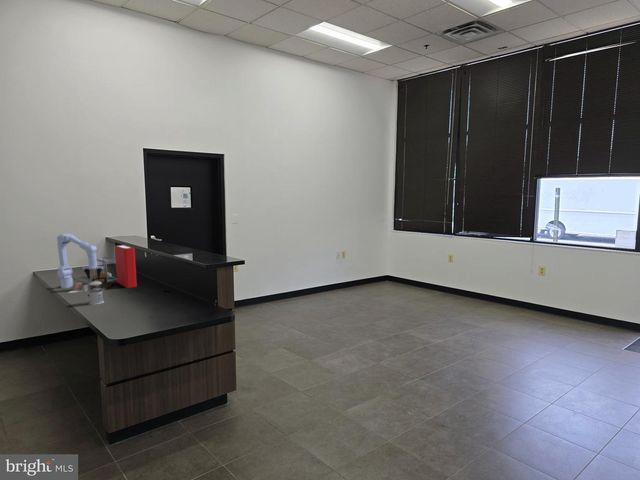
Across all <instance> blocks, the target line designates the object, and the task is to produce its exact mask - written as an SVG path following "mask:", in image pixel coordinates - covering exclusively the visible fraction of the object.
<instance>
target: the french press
mask: <svg viewBox="0 0 640 480" xmlns="http://www.w3.org/2000/svg"><path fill="white" fill-rule="evenodd" d="M93 269H94V274H95V271H96V270H97V269H96V268H92V270H93ZM90 282H91V283H90ZM90 282H88V283H89V285H92V286H95V287H92V288H91V289H89V299H90V300H89V301H90V302H88V305H89V306H90V305H91V306H94V305H95V306H96V304H97V305H101V303H102V304H103V303H105V301H104V296H103V290H102V288H101V286H100V285H102V284H103V283H101V282H99V281H94V282H92V281H90Z"/></svg>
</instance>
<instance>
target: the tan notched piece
mask: <svg viewBox="0 0 640 480" xmlns="http://www.w3.org/2000/svg"><path fill="white" fill-rule="evenodd" d="M91 282H92V281H90V282H88V283H86V285H88V291H90V289H93V285H89V283H91ZM80 290H83V287H82V289H80ZM80 290H79V291H80ZM73 291H77V290H76V288H74V289H73Z"/></svg>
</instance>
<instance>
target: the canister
mask: <svg viewBox="0 0 640 480" xmlns="http://www.w3.org/2000/svg"><path fill="white" fill-rule="evenodd" d="M74 286H75V289H76V290H75V291H80V289H82V288H83V283H82V282H76V283H75V285H74Z"/></svg>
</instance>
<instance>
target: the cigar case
mask: <svg viewBox="0 0 640 480" xmlns="http://www.w3.org/2000/svg"><path fill="white" fill-rule="evenodd" d="M103 271H104V274H103ZM101 272H102V274H101V273H100V278H98V277H97V271H96V270H95V274H94V272H93V269H91V274H92V275H91V280H92V281H91V282H94V281H99V282H101V283H102V284H107V282H108V281H107V280H106V270H105V269H104V268H103V270H102V271H101Z"/></svg>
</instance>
